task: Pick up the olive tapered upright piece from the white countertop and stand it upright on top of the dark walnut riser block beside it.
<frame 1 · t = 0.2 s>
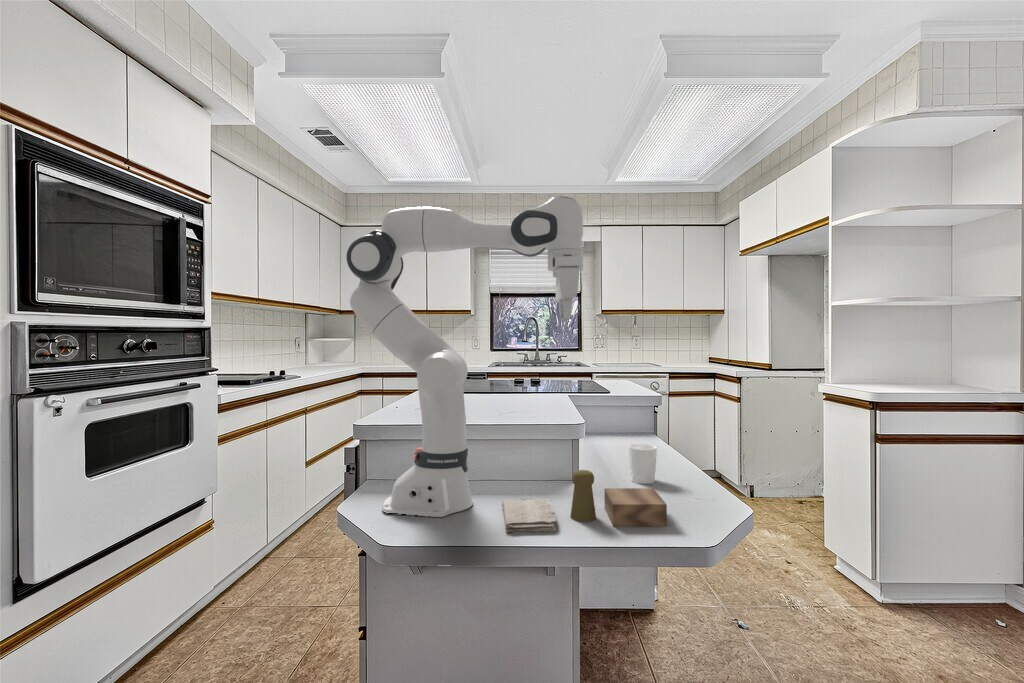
hand: (565, 318, 133), 47 cm above the countertop, tool pointing down, fingers open, 8 cm apart
washcloth: (528, 521, 125), on the countertop
olive tapered upright piece: (583, 518, 126), on the countertop
walnut riser: (634, 517, 126), on the countertop
white cup: (642, 481, 155), on the countertop
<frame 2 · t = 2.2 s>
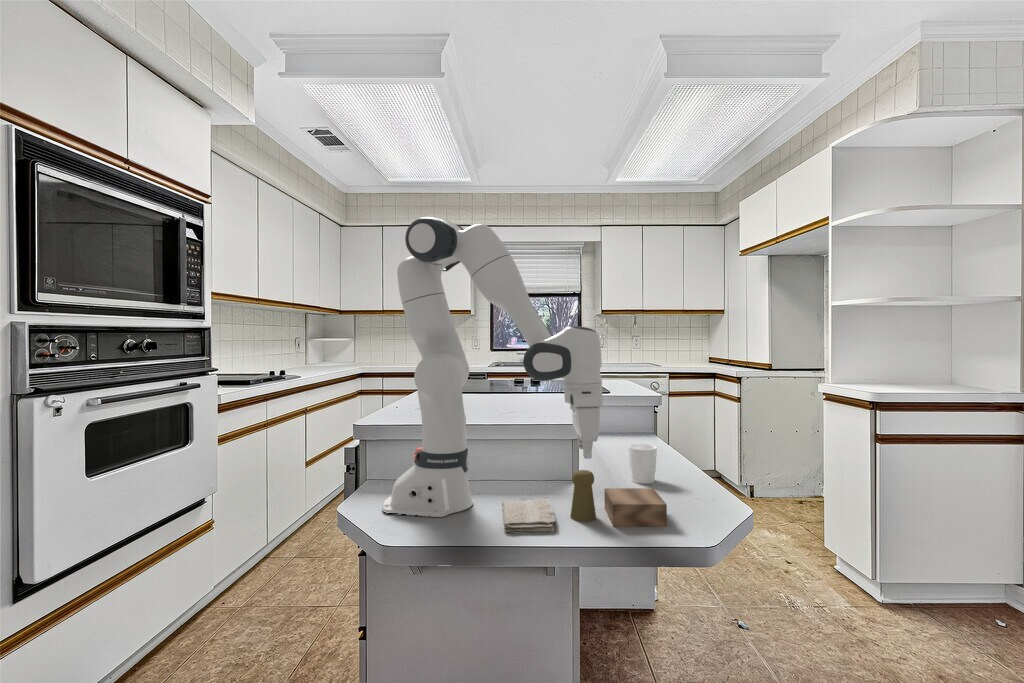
hand: (584, 453, 125), 15 cm above the countertop, tool pointing down, fingers open, 8 cm apart
nothing on the countertop moved.
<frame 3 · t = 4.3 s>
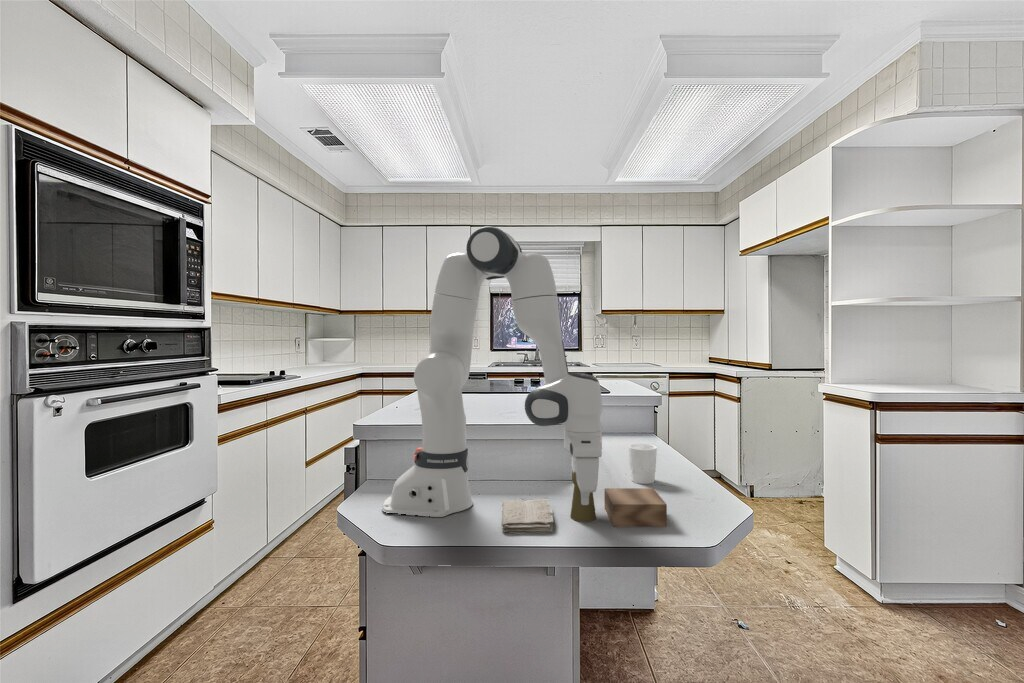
hand: (583, 499, 126), 4 cm above the countertop, tool pointing down, fingers closed on olive tapered upright piece, 5 cm apart
olive tapered upright piece: (583, 518, 126), on the countertop, touching gripper
everything else where it was.
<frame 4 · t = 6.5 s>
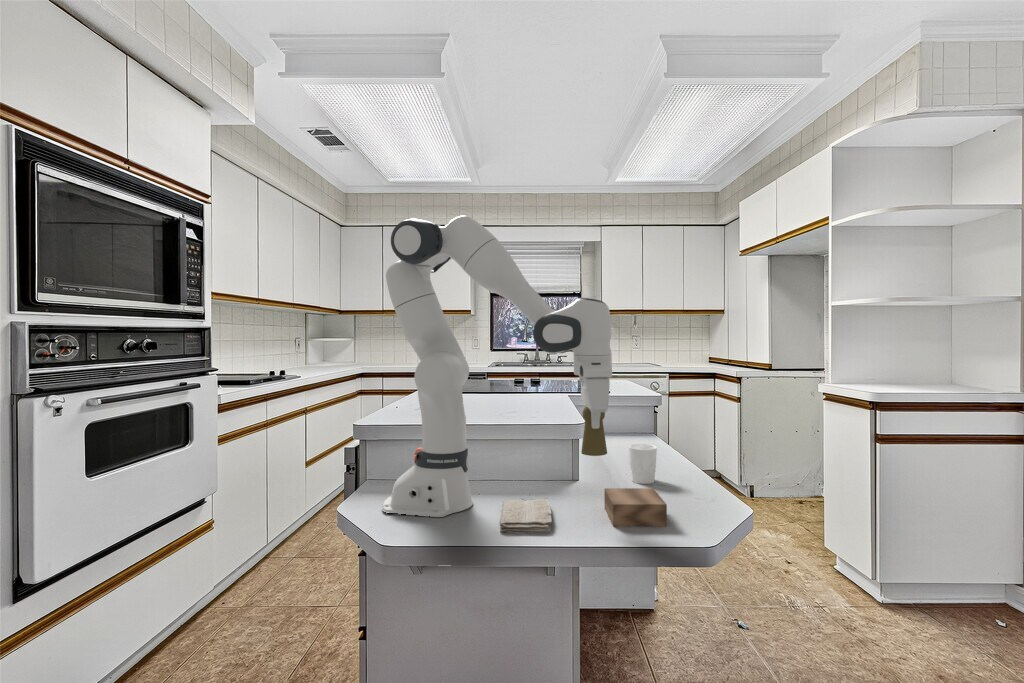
hand: (593, 425, 125), 22 cm above the countertop, tool pointing down, fingers closed on olive tapered upright piece, 4 cm apart
olive tapered upright piece: (594, 453, 125), point 15 cm above the countertop, touching gripper
everything else where it was.
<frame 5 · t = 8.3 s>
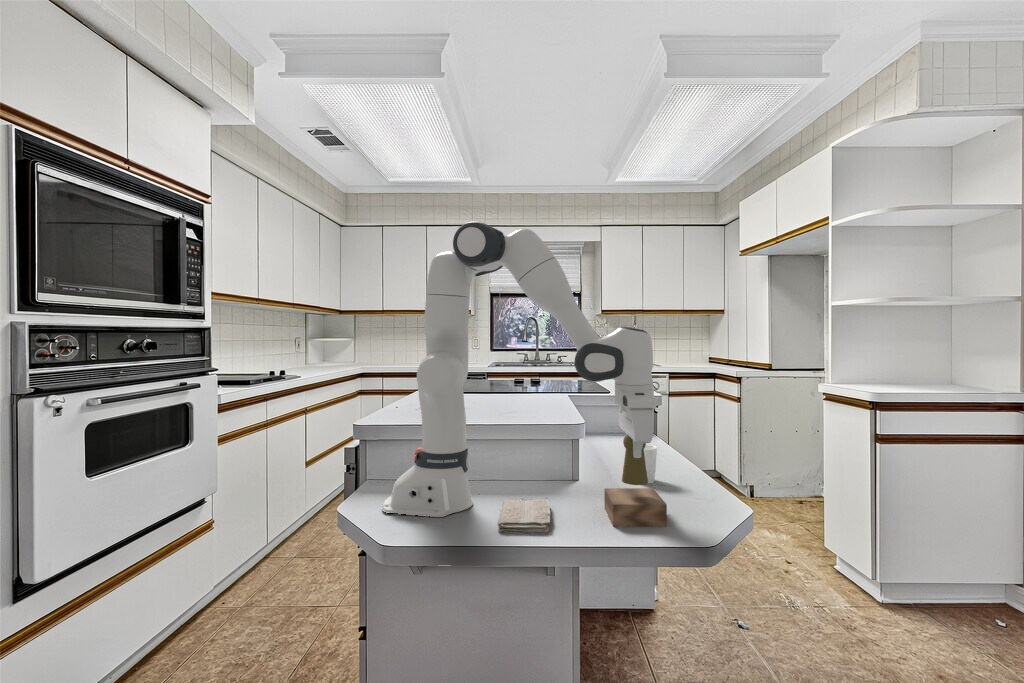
hand: (634, 454, 125), 15 cm above the countertop, tool pointing down, fingers closed on olive tapered upright piece, 4 cm apart
olive tapered upright piece: (634, 482, 125), point 8 cm above the countertop, touching gripper
everything else where it was.
when the fingers open (11 cm above the countertop, at t = 9.8 s): olive tapered upright piece stays where it is, resting on walnut riser.
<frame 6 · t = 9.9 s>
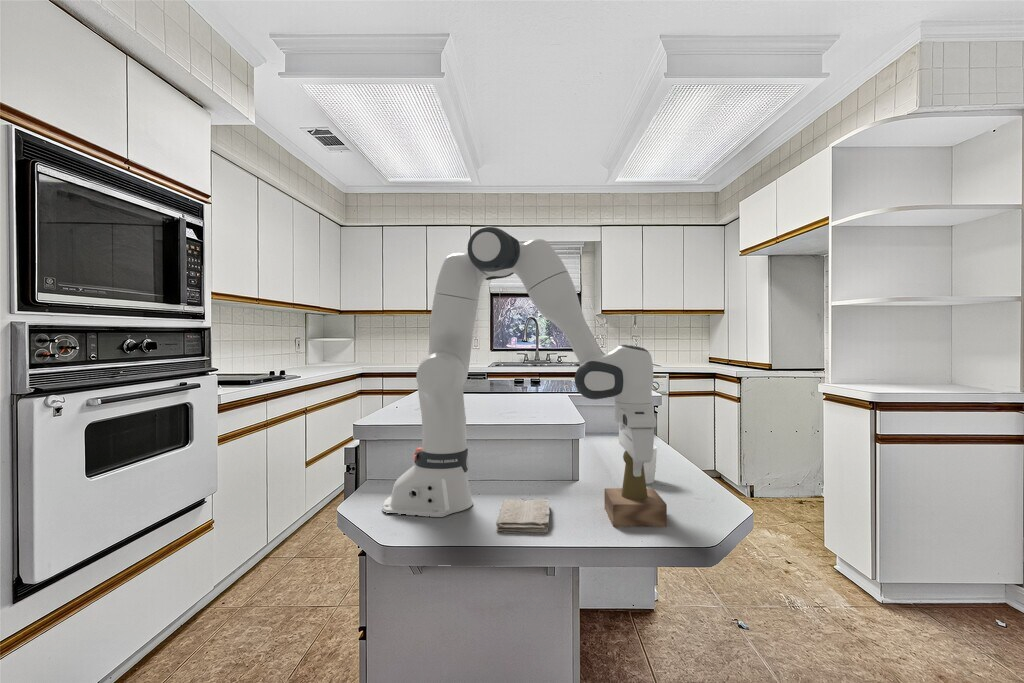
hand: (633, 472, 125), 11 cm above the countertop, tool pointing down, fingers open, 4 cm apart
olive tapered upright piece: (634, 496, 125), point 5 cm above the countertop, touching walnut riser
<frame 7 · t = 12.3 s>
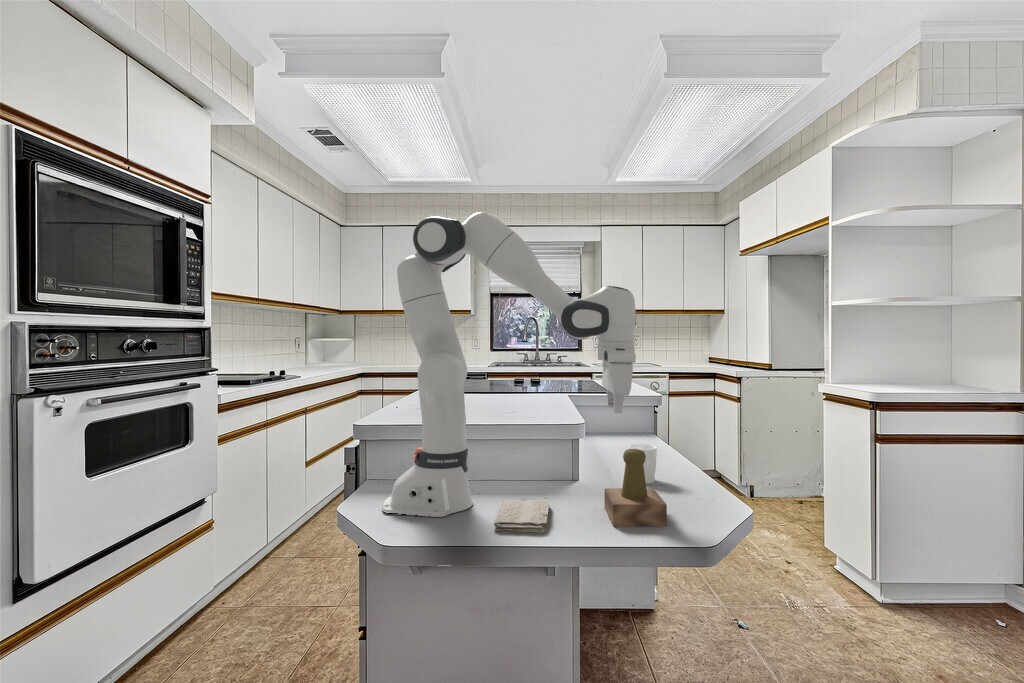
hand: (614, 409, 130), 25 cm above the countertop, tool pointing down, fingers open, 8 cm apart
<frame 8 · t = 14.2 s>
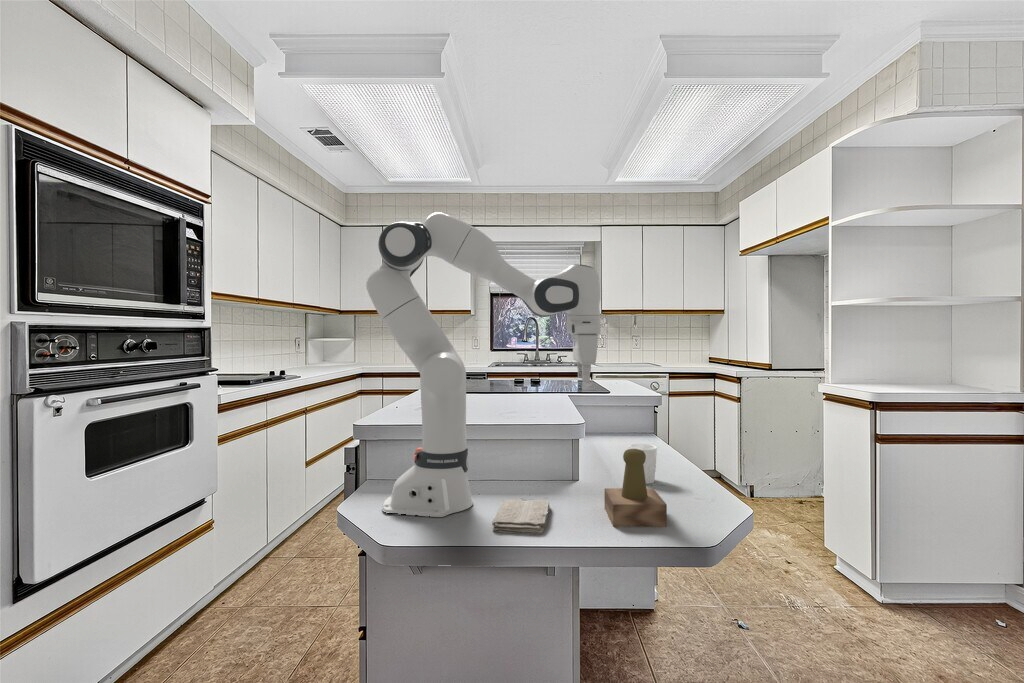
hand: (583, 379, 140), 31 cm above the countertop, tool pointing down, fingers open, 8 cm apart
at the end: olive tapered upright piece inside the target area on the walnut riser (0.1 cm from its centre), point 4.8 cm above the walnut riser's base; olive tapered upright piece tilted 0°; the gripper is holding nothing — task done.
